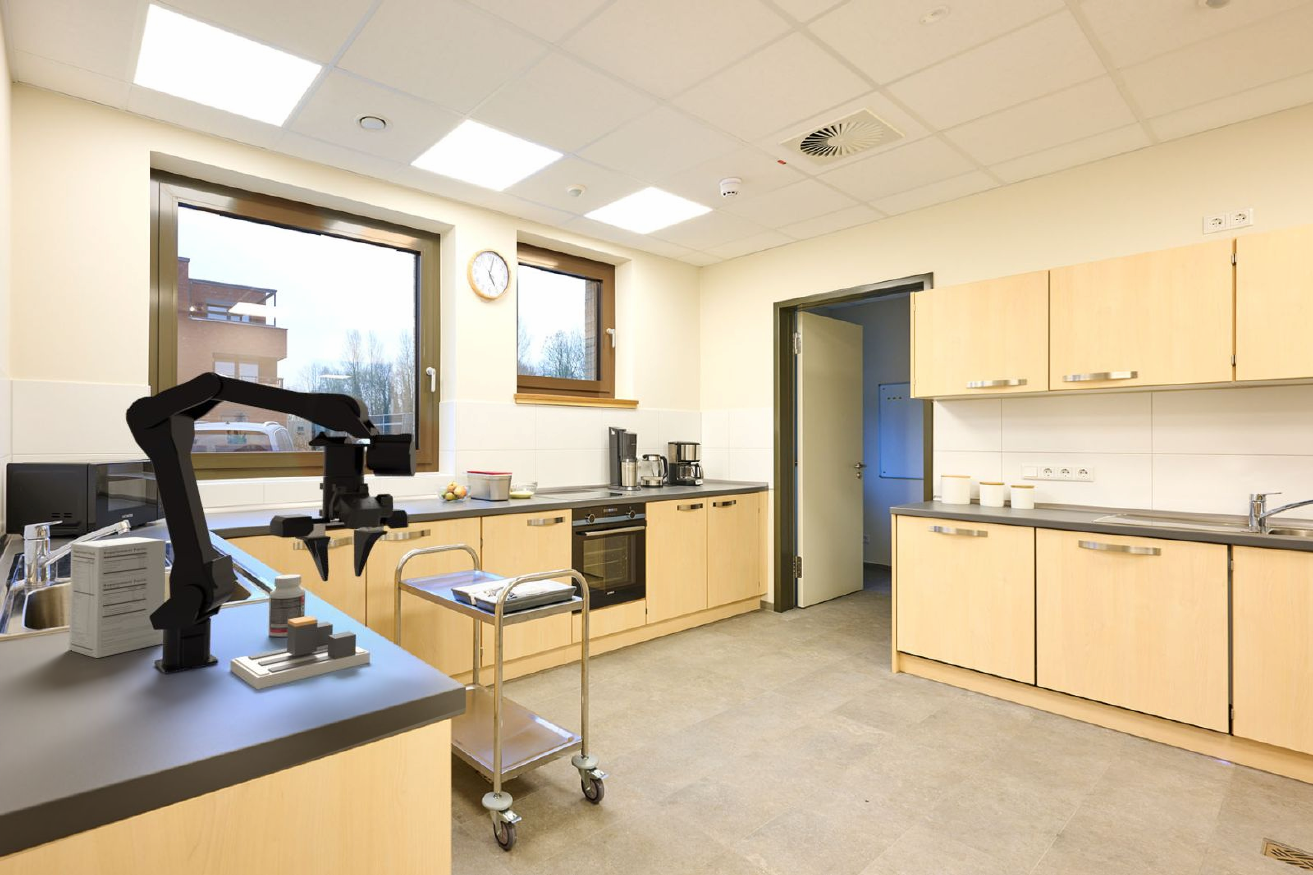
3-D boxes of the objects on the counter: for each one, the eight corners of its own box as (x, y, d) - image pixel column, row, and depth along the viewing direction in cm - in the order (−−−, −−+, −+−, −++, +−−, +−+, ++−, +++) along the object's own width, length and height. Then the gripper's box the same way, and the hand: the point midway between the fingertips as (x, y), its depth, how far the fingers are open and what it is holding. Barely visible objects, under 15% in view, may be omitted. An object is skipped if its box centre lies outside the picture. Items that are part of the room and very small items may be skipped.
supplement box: (166, 643, 105) (168, 539, 106) (96, 659, 97) (99, 546, 98) (135, 635, 110) (138, 535, 110) (66, 650, 102) (69, 542, 102)
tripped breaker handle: (286, 651, 95) (287, 619, 95) (308, 647, 97) (309, 615, 98) (294, 656, 93) (295, 623, 93) (316, 651, 95) (317, 619, 96)
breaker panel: (230, 670, 93) (231, 638, 93) (337, 647, 105) (338, 619, 105) (257, 689, 86) (258, 654, 86) (369, 662, 97) (370, 632, 97)
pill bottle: (309, 633, 112) (310, 576, 113) (274, 639, 108) (276, 580, 109) (297, 627, 116) (298, 572, 116) (263, 633, 112) (265, 576, 112)
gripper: (299, 480, 88) (297, 596, 87) (427, 477, 102) (425, 577, 101) (269, 477, 95) (267, 584, 95) (392, 474, 109) (390, 568, 109)
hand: (341, 578), depth 100 cm, fingers open, 5 cm apart
